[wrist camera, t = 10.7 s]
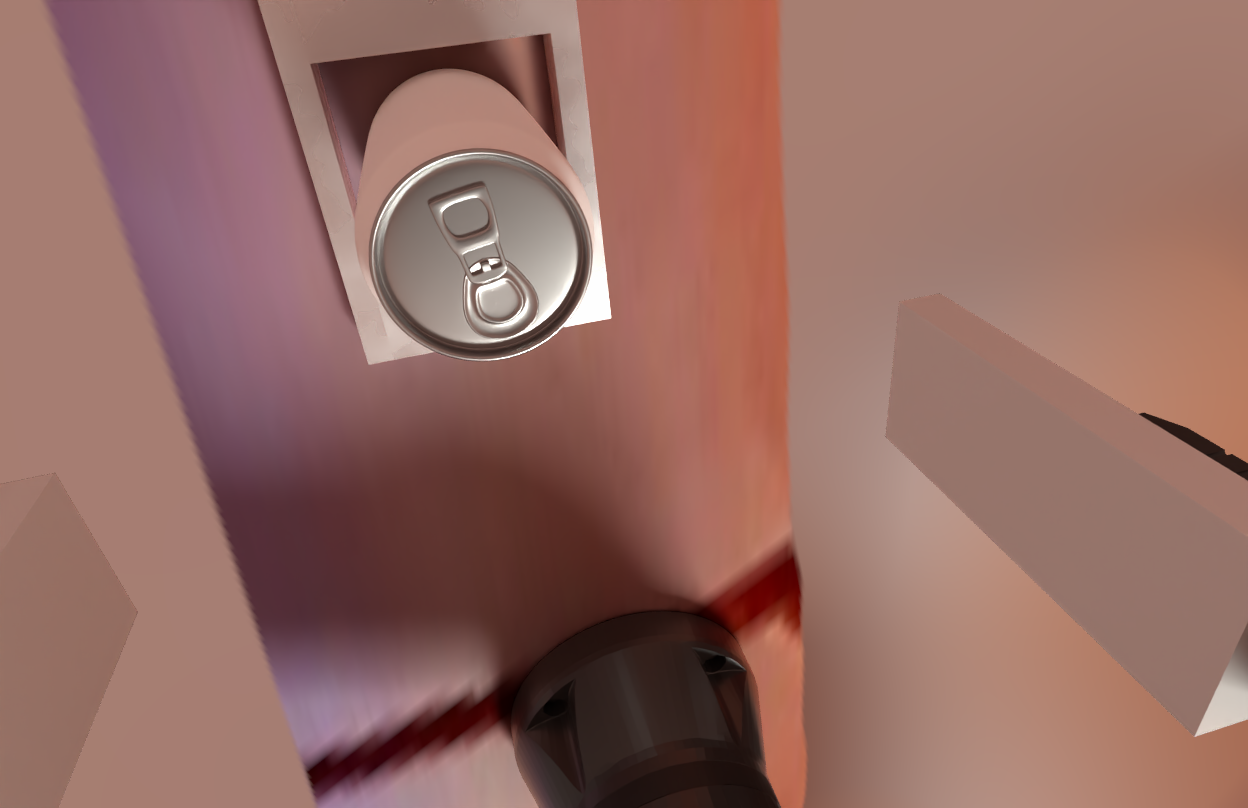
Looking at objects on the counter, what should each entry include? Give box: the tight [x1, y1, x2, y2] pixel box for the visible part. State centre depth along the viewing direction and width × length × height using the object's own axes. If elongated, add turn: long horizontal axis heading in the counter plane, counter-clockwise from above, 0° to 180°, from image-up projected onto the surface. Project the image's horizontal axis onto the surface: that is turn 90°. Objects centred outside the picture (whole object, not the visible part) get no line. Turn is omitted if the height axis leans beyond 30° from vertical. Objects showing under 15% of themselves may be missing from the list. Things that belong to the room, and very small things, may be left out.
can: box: [354, 69, 595, 361], centre depth 24 cm, size 6×6×12 cm
